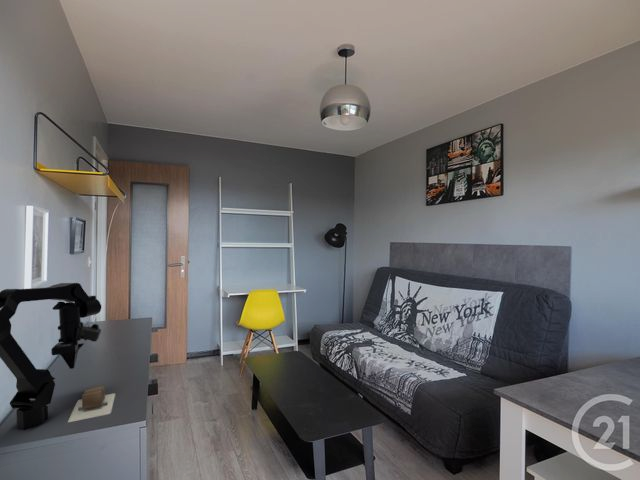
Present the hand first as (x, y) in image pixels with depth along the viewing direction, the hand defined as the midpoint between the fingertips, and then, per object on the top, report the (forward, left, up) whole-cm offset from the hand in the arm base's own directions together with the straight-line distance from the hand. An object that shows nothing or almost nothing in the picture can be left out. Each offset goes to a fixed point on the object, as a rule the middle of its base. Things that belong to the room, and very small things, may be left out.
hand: (72, 368), depth 121 cm
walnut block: (-3, -12, -8) cm, 14 cm away
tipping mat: (0, -10, -12) cm, 15 cm away
